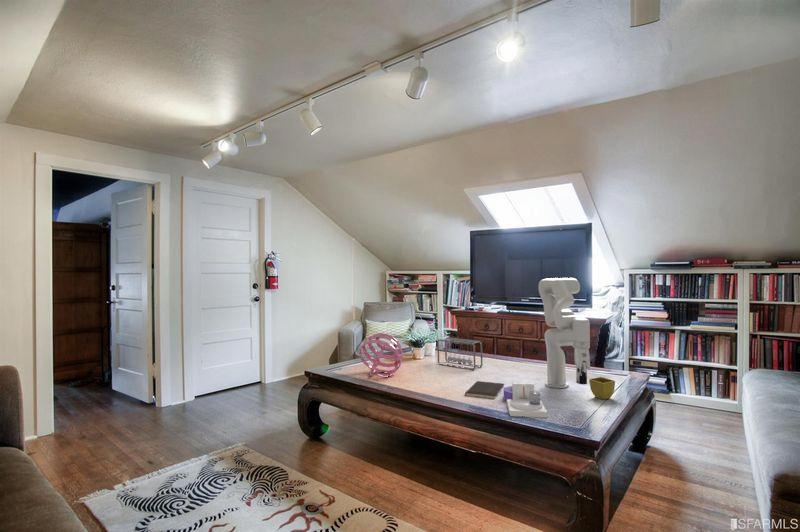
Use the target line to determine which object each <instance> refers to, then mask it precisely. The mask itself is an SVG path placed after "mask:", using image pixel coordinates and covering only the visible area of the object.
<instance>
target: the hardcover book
mask: <svg viewBox="0 0 800 532" xmlns="http://www.w3.org/2000/svg"><path fill="white" fill-rule="evenodd" d="M504 388H505V383H501V382H500V383H499V382H492V381H490V382H489V381H481V380H477V381H475V383H473V385H471V386H470V388H469V389H467V390H466V391H465V393H464V396H467V395H470V396H469V397H475V396H479V397H478V398H484V397H486V399H493V398H494V400H495V399H496V398H497V396H498V395H499V394H500V393H501V391H502V390H503V389H504ZM501 389H502V390H501ZM498 393H499V394H498ZM495 397H496V398H495Z"/></svg>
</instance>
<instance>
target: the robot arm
mask: <svg viewBox="0 0 800 532" xmlns="http://www.w3.org/2000/svg"><path fill="white" fill-rule="evenodd" d="M580 291H581V284H580V282H579V280H577V278H574V277H569V278H568V277H562V278H561V277H560V278H558V277H555V278H554V277H553V278H552V277H551V278H544V279H541V280H540V281H539V283H538V293H539V296H540V298H541V300H542V303H543V304H542V305H543V311H544V318H545V319H544V320H545V324H546V325H547V326H548V327H556V328H549V329H546V331H545V332H544V343H545V347H546V368H547V369H546V370H547V371H546V373H547V375H546V376H547V380H546V381H544V385H545V386H546V387H549V388H553V389H567V388H569V387H570V384H569V383H568V382H567V378H566V376H567V375H566V355H565V352H564V350H563V348H561V347H569V346H572V348H574V349H573V350H574V356H573V357H574V360H573V361H574V366H575V367H576V372H577V371H580V375H579V383H580V384H579V385H588V371H589V370H591V360H590V359H591V358H590V350H589V349H590V348H591V335H590V333H591V330H590V329H591V327H590V326H591V324H590V320H589V319H588V318H586V317H585V316H584V315H581V314H580V315H579V314H578V315H577V314H576V315H575V314H574V312H573V311H572V310H571V309H568V308H570V307H571V306H573V305H574V304H575V298H574V295H575V294H578V293H579V292H580Z"/></svg>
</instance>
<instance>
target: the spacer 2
mask: <svg viewBox="0 0 800 532" xmlns="http://www.w3.org/2000/svg"><path fill="white" fill-rule="evenodd" d="M575 375H576V376H575V377H576V379H575V380H576V381H575V382H576V383H577V384H579V385H581V384H580V383H579V375H580V371H576V374H575Z"/></svg>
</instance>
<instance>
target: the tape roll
mask: <svg viewBox="0 0 800 532" xmlns="http://www.w3.org/2000/svg"><path fill="white" fill-rule="evenodd" d="M502 391H503V400H504V399H505V400H504V401H506V400H507V399H512V400H513V390H512V385H511V386H509V385H508V386H504V387H503V388H502Z"/></svg>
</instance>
